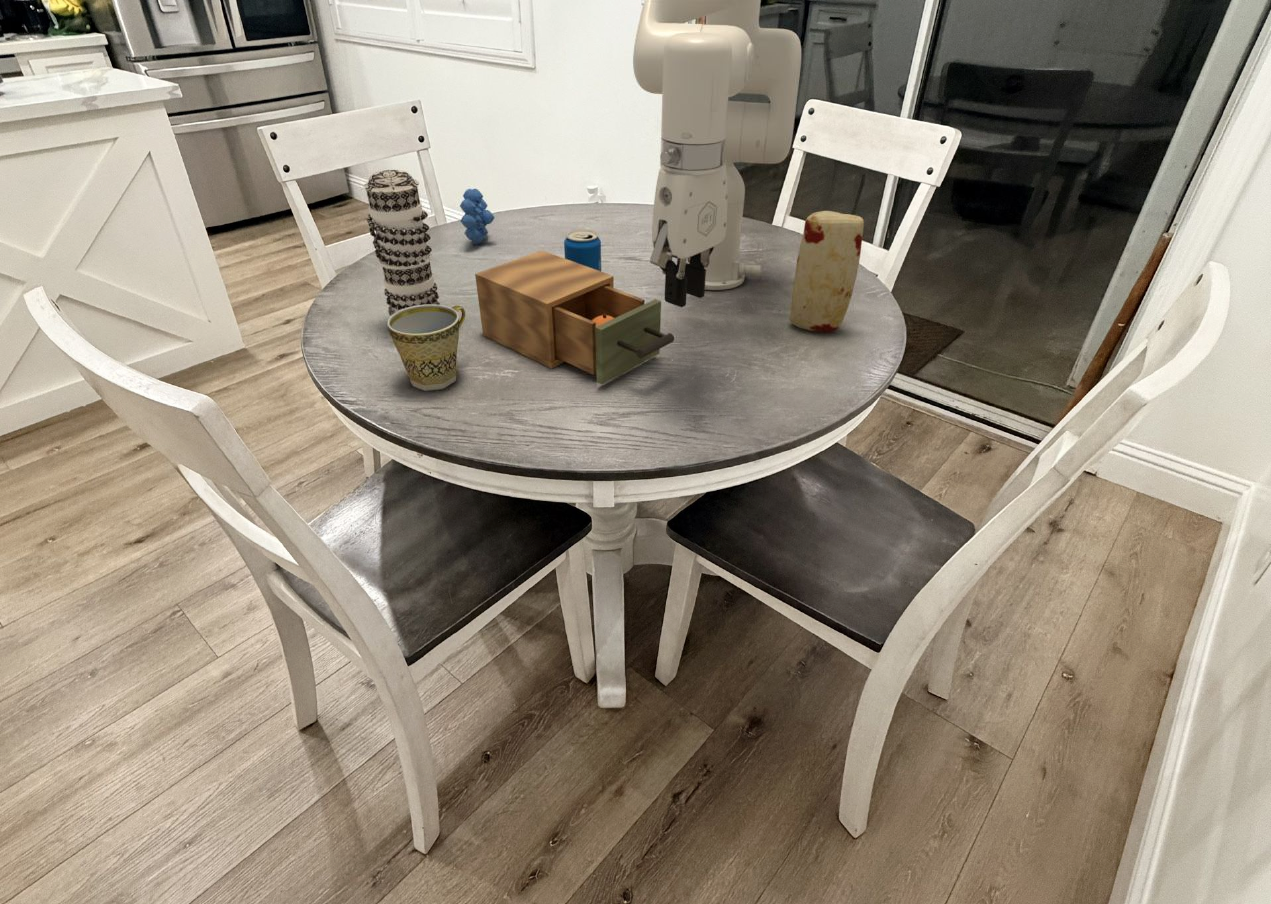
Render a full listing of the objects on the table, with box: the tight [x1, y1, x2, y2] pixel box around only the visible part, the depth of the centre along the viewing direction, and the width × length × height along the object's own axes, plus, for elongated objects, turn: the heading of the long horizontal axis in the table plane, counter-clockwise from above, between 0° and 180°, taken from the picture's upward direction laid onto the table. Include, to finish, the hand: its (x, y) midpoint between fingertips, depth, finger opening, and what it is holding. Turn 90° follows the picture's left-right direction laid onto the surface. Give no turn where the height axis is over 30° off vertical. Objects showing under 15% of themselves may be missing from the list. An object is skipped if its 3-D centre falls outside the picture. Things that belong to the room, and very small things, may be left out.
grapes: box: [459, 188, 496, 245], centre depth 149 cm, size 12×7×12 cm, turn 173°
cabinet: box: [474, 250, 615, 369], centre depth 115 cm, size 17×14×11 cm
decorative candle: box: [363, 169, 441, 317], centre depth 113 cm, size 9×9×25 cm
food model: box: [788, 210, 865, 334], centre depth 115 cm, size 10×7×20 cm
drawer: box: [552, 285, 675, 386], centre depth 107 cm, size 21×13×9 cm, turn 49°
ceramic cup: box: [386, 304, 466, 392], centre depth 104 cm, size 13×10×10 cm
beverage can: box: [563, 229, 602, 272], centre depth 127 cm, size 6×6×12 cm
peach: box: [592, 313, 614, 327], centre depth 108 cm, size 6×6×6 cm
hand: (684, 298), depth 94 cm, fingers open, 3 cm apart
